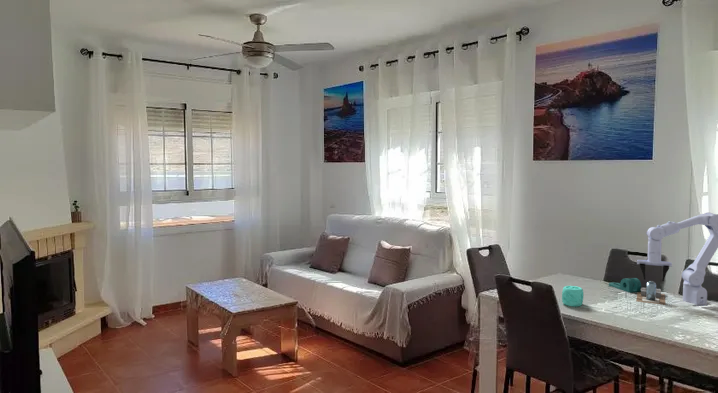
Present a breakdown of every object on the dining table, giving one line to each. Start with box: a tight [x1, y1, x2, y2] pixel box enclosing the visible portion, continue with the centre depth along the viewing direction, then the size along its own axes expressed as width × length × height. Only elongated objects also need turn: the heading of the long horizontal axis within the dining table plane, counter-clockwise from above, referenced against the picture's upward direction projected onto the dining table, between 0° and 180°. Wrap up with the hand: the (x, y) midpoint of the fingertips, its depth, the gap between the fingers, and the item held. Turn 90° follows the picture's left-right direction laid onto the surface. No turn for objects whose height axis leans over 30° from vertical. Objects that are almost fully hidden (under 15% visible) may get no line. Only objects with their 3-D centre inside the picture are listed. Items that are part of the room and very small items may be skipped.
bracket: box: [608, 277, 642, 294], centre depth 268 cm, size 18×7×8 cm, turn 10°
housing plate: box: [635, 286, 666, 306], centre depth 249 cm, size 22×12×4 cm, turn 150°
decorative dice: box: [561, 285, 584, 308], centre depth 242 cm, size 8×8×8 cm
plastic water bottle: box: [645, 280, 657, 301], centre depth 244 cm, size 4×4×9 cm
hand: (653, 280), depth 246 cm, fingers open, 7 cm apart
